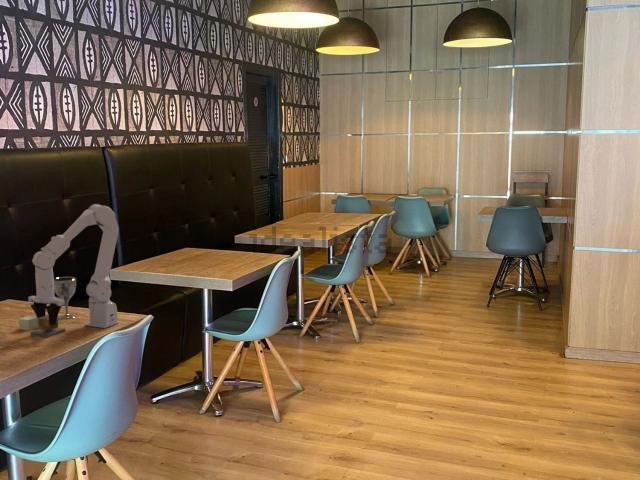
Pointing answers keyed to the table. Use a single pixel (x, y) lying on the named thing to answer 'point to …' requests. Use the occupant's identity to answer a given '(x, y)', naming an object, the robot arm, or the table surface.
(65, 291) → the wine glass
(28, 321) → the sage cube
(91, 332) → the table surface
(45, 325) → the walnut block
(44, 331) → the slate board
